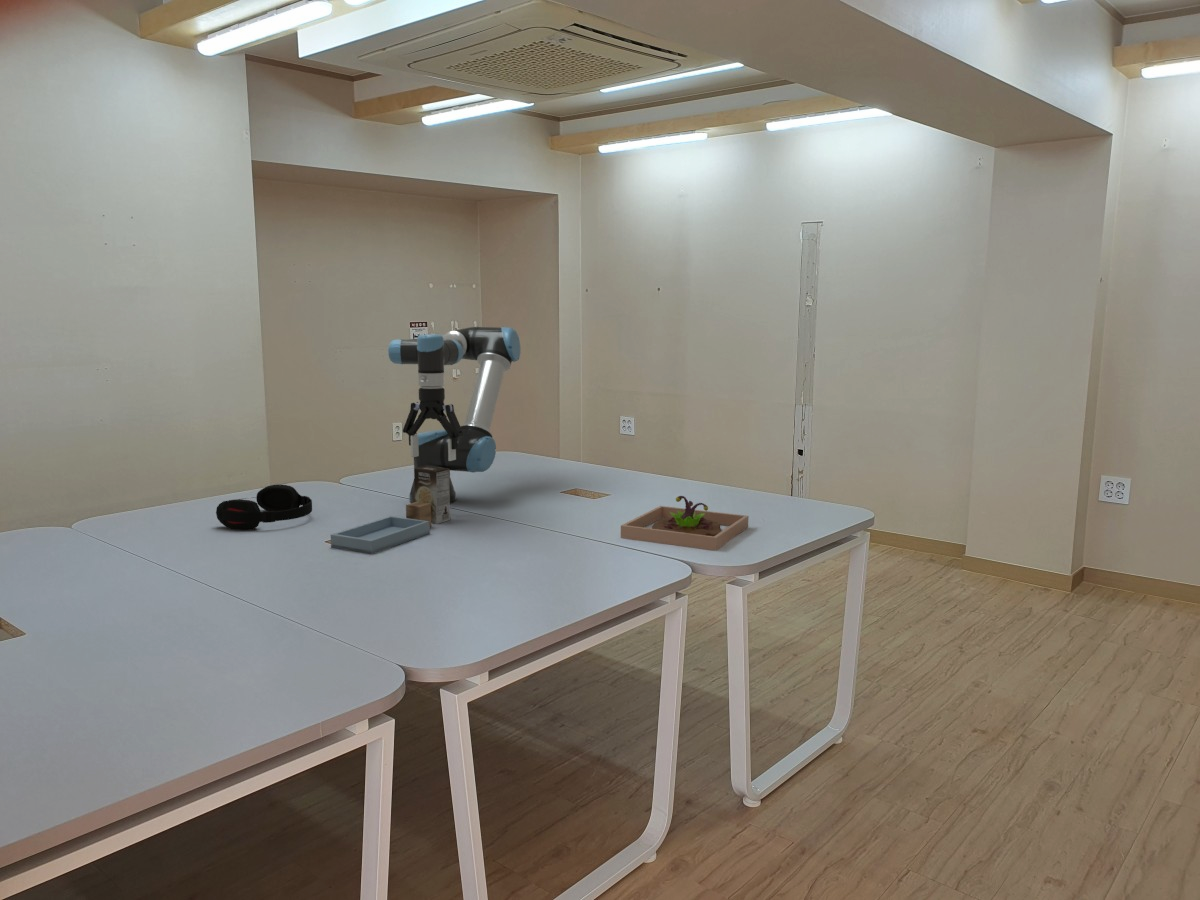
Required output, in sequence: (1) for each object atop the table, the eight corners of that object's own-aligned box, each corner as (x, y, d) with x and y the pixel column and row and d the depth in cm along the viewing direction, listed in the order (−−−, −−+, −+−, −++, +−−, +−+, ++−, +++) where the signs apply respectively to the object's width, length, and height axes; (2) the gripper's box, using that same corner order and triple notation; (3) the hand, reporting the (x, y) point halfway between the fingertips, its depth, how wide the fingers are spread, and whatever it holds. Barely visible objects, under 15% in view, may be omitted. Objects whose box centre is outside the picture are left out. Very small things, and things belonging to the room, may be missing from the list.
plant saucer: (620, 537, 243) (620, 525, 243) (660, 516, 268) (660, 505, 267) (715, 550, 231) (716, 537, 230) (748, 527, 255) (748, 515, 255)
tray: (331, 547, 233) (330, 534, 232) (391, 527, 254) (390, 515, 253) (371, 554, 226) (371, 541, 226) (429, 533, 247) (429, 521, 247)
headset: (226, 512, 273) (224, 485, 271) (315, 507, 280) (313, 480, 278) (212, 534, 246) (210, 504, 245) (310, 528, 253) (309, 499, 252)
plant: (653, 524, 260) (654, 487, 258) (719, 526, 258) (720, 489, 256) (650, 542, 240) (650, 502, 239) (721, 544, 238) (722, 504, 237)
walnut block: (406, 528, 253) (405, 504, 252) (417, 524, 257) (416, 501, 256) (420, 530, 251) (419, 506, 250) (431, 526, 255) (430, 503, 254)
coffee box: (414, 520, 263) (412, 467, 260) (428, 516, 268) (427, 464, 265) (436, 524, 258) (435, 471, 255) (451, 520, 263) (450, 467, 260)
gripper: (389, 386, 259) (391, 457, 262) (459, 390, 248) (460, 463, 251) (405, 384, 265) (407, 453, 269) (474, 388, 255) (475, 459, 258)
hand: (433, 458), depth 260 cm, fingers open, 13 cm apart
